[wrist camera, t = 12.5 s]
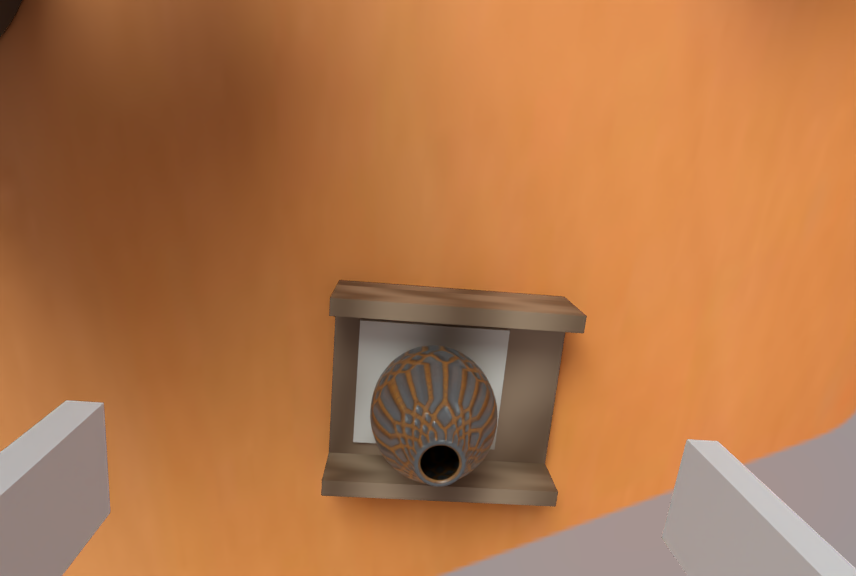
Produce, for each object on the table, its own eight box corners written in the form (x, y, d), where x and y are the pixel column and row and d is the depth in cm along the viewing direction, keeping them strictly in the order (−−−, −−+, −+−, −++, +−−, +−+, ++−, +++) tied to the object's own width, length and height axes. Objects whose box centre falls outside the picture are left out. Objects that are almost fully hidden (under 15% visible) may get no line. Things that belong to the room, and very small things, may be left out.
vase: (431, 455, 34) (441, 555, 25) (350, 387, 32) (332, 469, 24) (508, 381, 33) (546, 459, 24) (428, 307, 31) (438, 363, 23)
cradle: (330, 456, 35) (321, 495, 31) (339, 280, 32) (330, 297, 28) (538, 466, 36) (555, 506, 32) (564, 296, 33) (586, 316, 29)
